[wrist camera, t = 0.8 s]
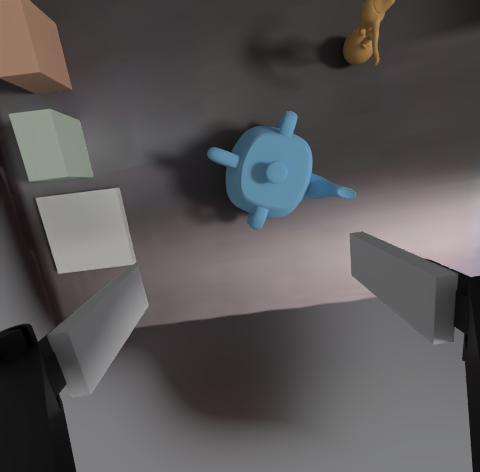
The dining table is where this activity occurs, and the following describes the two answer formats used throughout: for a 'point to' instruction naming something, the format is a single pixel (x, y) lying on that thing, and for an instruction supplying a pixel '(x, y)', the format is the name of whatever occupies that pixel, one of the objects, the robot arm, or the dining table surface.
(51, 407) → the robot arm
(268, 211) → the teapot
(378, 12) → the figurine
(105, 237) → the base plate
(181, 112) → the dining table surface
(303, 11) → the dining table surface
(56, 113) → the sage brick
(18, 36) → the terracotta brick
